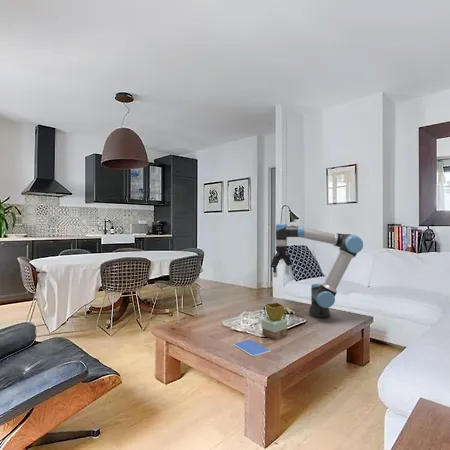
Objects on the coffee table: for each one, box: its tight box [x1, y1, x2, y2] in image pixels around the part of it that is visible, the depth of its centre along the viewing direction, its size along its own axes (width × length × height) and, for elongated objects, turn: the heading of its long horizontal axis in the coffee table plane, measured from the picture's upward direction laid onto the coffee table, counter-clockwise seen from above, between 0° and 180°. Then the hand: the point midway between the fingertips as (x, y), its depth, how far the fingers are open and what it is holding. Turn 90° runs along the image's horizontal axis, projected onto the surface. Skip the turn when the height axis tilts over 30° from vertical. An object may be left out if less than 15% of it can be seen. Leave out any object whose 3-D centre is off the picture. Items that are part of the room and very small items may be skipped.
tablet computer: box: [233, 339, 271, 358], centre depth 182 cm, size 19×13×1 cm, turn 32°
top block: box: [260, 317, 288, 333], centre depth 201 cm, size 11×11×5 cm
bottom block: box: [261, 327, 288, 341], centre depth 201 cm, size 11×11×5 cm
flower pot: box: [265, 302, 285, 321], centre depth 202 cm, size 9×9×9 cm
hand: (281, 275), depth 227 cm, fingers open, 13 cm apart
